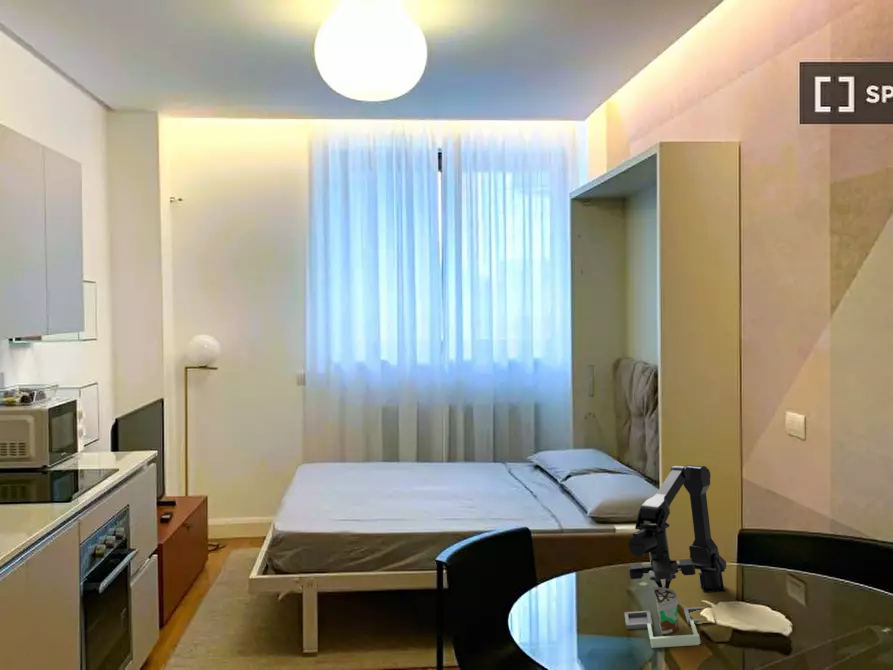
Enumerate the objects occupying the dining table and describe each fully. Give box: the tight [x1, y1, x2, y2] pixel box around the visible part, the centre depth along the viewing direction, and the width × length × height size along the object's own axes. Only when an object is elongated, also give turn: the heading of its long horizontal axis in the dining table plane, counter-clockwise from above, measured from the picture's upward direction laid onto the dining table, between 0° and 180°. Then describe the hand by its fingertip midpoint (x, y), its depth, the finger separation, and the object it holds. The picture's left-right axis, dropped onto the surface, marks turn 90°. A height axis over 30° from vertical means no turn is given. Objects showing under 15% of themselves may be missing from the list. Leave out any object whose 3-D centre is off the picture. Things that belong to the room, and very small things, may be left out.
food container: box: [653, 586, 680, 636], centre depth 215 cm, size 12×6×10 cm, turn 171°
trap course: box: [623, 606, 706, 649], centre depth 215 cm, size 25×22×2 cm
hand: (665, 597), depth 222 cm, fingers closed
